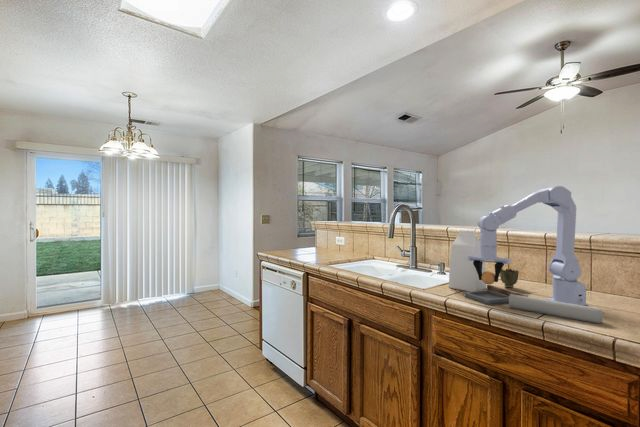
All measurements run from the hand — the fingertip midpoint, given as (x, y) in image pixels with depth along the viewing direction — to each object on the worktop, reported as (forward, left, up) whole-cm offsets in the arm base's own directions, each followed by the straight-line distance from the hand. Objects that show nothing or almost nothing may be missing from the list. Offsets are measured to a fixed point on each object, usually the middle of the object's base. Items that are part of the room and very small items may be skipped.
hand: (488, 280), depth 122 cm
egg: (0, 0, +1) cm, 1 cm away
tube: (-21, -6, -8) cm, 23 cm away
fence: (0, -9, -7) cm, 12 cm away
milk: (+18, -6, -8) cm, 21 cm away
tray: (0, 0, -7) cm, 7 cm away
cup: (+12, -24, -8) cm, 28 cm away
